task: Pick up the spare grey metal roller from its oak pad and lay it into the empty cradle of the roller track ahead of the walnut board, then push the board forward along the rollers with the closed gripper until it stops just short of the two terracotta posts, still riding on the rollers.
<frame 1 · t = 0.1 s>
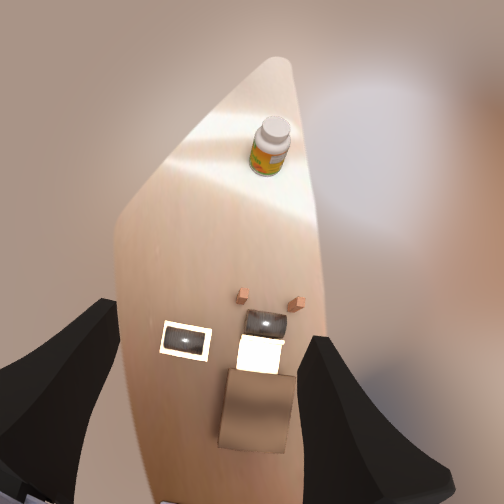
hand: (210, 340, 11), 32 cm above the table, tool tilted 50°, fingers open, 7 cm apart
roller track: (255, 381, 41), on the table
stop posts: (266, 303, 44), on the table
slab: (254, 410, 36), point 3 cm above the table, touching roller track
supplement bottle: (265, 164, 52), on the table
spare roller: (185, 341, 41), resting on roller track
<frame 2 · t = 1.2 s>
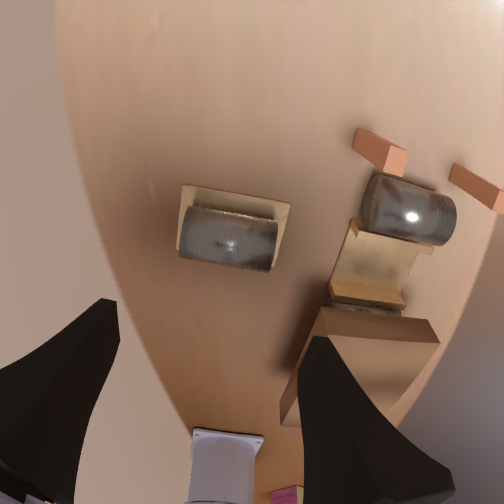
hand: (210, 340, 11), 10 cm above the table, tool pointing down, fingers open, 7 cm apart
box: (300, 492, 45), on the table
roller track: (358, 301, 22), on the table
stop posts: (414, 157, 17), on the table
slab: (350, 366, 21), point 3 cm above the table, touching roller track
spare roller: (230, 227, 19), resting on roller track
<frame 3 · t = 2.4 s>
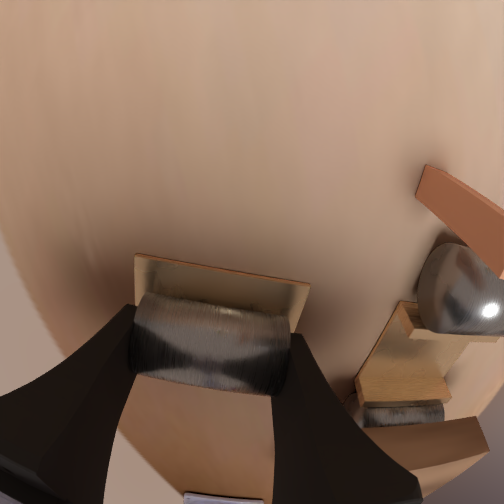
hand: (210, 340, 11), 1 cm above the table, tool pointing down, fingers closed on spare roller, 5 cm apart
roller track: (391, 391, 15), on the table
stop posts: (496, 209, 10), on the table
slab: (373, 467, 14), point 3 cm above the table, touching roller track
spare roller: (214, 318, 12), resting on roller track, touching gripper
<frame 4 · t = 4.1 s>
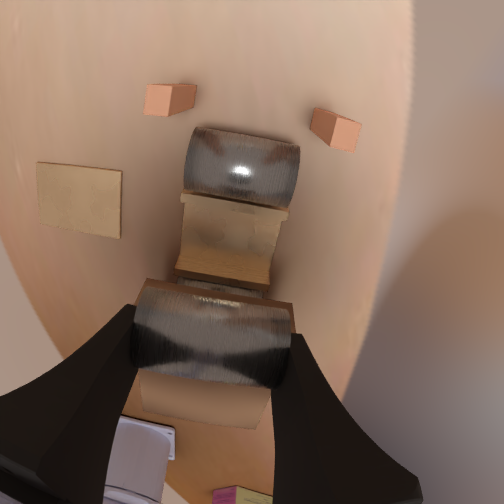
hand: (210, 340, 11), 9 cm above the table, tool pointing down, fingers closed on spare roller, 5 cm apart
box: (245, 493, 43), on the table
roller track: (221, 280, 21), on the table
stop posts: (253, 105, 15), on the table
slab: (209, 353, 19), point 3 cm above the table, touching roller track
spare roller: (214, 312, 12), point 7 cm above the table, touching gripper
when the fingers open (2 cm above the table, at t = 5.8 s): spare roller stays where it is, resting on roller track.
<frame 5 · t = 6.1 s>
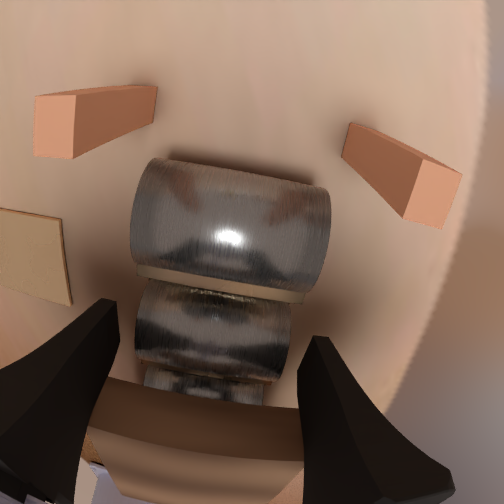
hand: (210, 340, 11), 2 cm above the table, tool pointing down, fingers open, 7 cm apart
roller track: (207, 360, 15), on the table
stop posts: (250, 118, 9), on the table
slab: (195, 448, 14), point 3 cm above the table, touching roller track
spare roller: (216, 306, 13), resting on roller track
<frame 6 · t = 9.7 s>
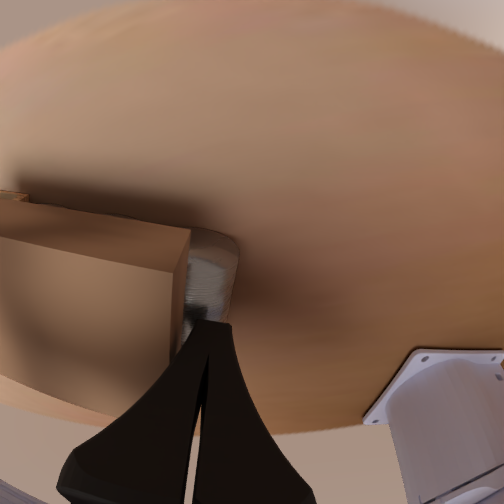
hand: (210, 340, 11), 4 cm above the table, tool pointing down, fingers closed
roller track: (48, 248, 14), on the table
slab: (64, 298, 11), point 3 cm above the table, touching gripper, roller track
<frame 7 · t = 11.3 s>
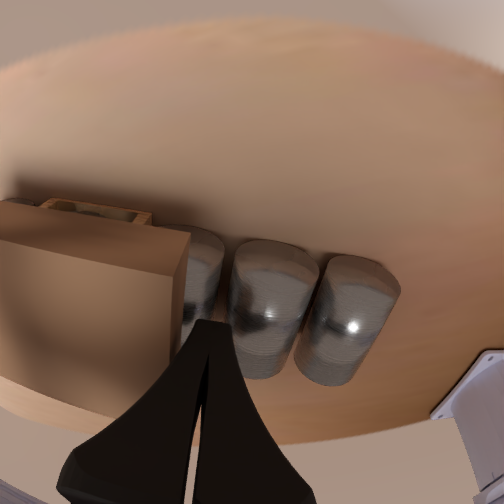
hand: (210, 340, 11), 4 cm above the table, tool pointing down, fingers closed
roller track: (169, 273, 14), on the table
slab: (64, 301, 11), point 3 cm above the table, touching gripper, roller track
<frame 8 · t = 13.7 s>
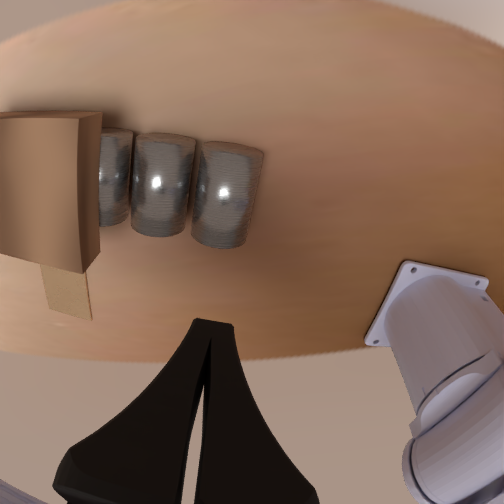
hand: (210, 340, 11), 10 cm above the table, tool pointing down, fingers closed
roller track: (104, 166, 18), on the table
slab: (29, 178, 15), point 3 cm above the table, touching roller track
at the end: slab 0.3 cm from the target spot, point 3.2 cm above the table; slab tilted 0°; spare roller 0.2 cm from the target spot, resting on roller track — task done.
